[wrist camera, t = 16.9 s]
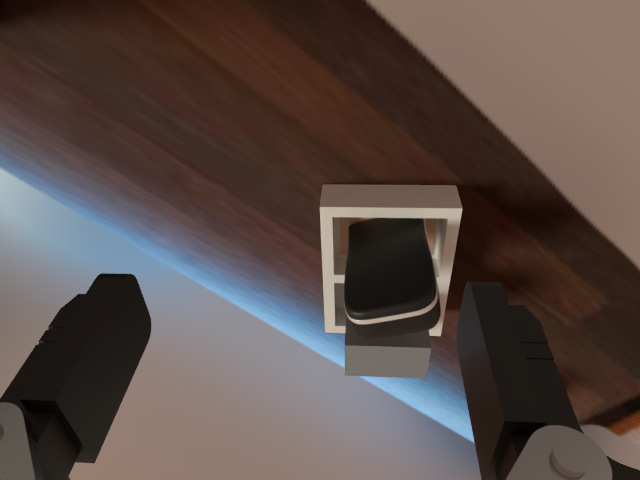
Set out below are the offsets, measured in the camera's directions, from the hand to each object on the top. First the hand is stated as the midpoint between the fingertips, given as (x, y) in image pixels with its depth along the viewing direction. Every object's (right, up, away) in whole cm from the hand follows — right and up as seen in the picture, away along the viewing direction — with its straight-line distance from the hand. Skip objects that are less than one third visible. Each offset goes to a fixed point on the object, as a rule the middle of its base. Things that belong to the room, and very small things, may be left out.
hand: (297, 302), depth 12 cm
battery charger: (+7, +2, +32) cm, 33 cm away
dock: (+7, 0, +35) cm, 36 cm away
